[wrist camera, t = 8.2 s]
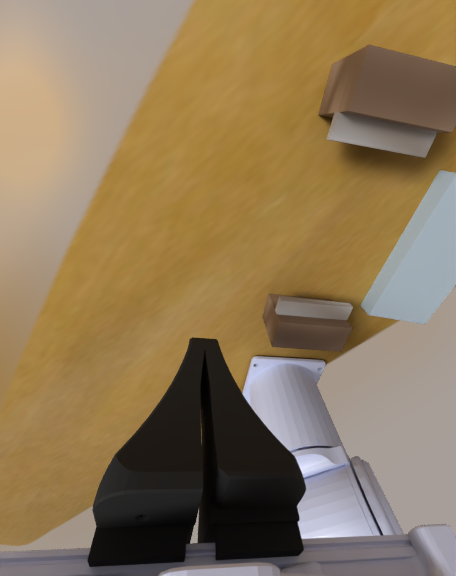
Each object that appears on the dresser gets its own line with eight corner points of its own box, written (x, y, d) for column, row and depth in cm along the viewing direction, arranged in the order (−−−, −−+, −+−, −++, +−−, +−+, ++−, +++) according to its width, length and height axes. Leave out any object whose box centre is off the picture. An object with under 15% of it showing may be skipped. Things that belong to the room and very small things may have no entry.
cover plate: (410, 311, 26) (424, 324, 24) (357, 302, 25) (368, 314, 23) (499, 188, 20) (526, 193, 19) (434, 169, 19) (457, 173, 17)
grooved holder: (322, 321, 25) (341, 351, 22) (262, 316, 24) (271, 346, 21) (422, 85, 16) (481, 72, 13) (332, 64, 15) (369, 44, 12)
